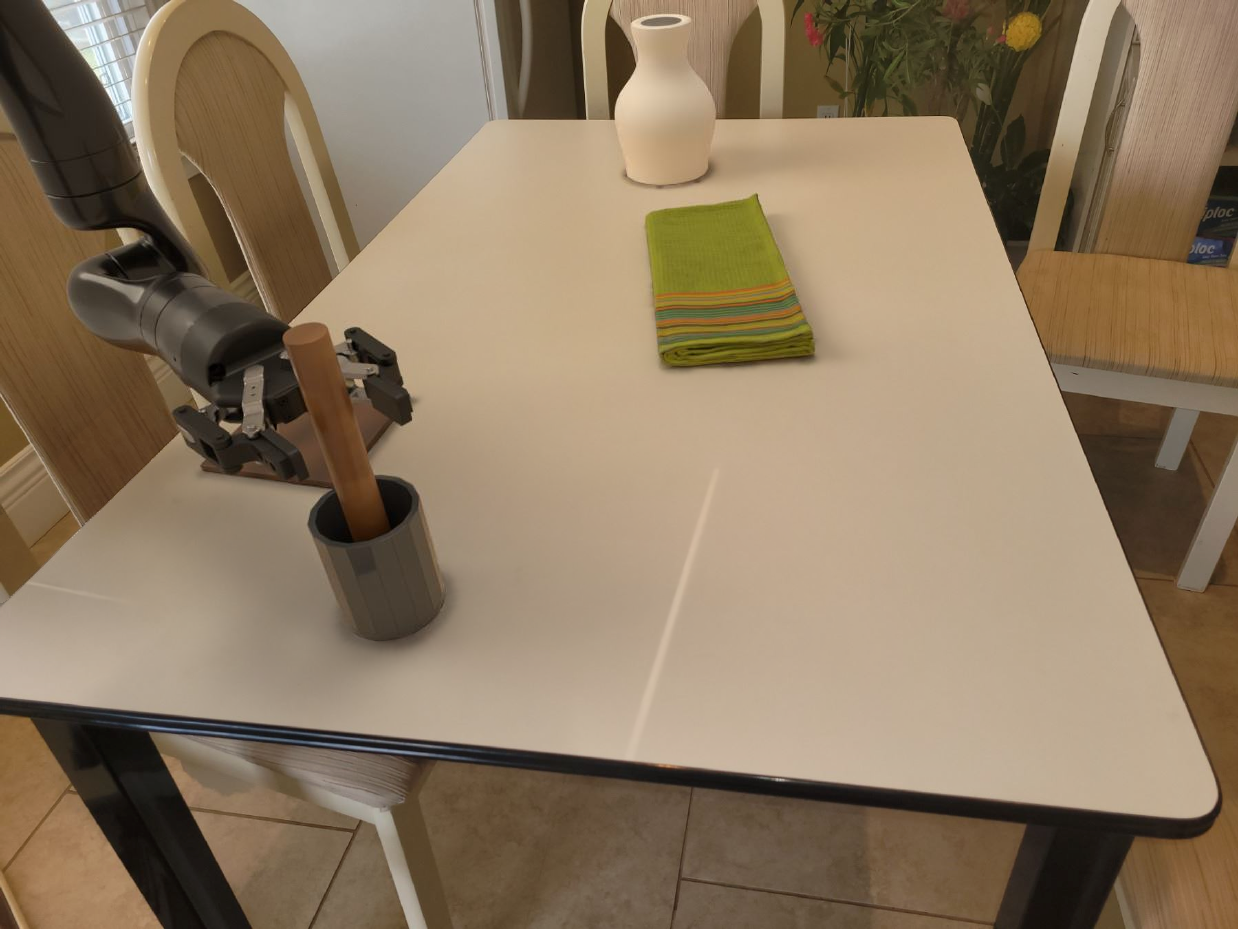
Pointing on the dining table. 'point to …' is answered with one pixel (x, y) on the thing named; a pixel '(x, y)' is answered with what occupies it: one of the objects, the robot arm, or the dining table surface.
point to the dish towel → (722, 286)
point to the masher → (336, 428)
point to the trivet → (314, 445)
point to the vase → (664, 106)
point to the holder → (381, 564)
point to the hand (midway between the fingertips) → (354, 438)
